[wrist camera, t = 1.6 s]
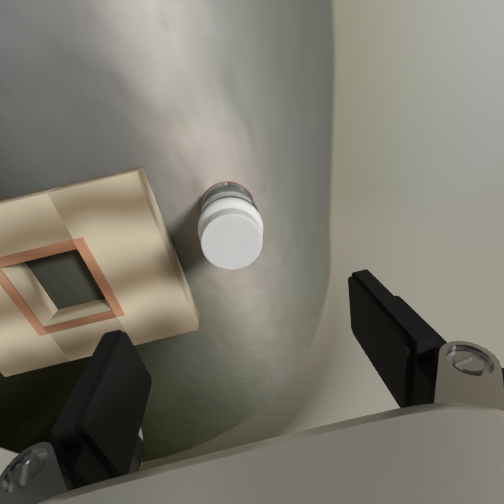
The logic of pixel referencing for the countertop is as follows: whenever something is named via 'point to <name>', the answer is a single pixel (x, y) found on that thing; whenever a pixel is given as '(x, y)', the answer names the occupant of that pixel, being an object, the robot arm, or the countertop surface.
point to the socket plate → (100, 265)
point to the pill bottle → (230, 226)
